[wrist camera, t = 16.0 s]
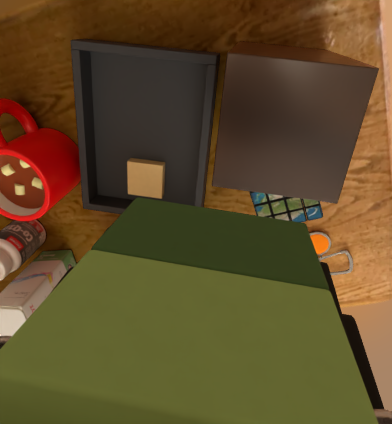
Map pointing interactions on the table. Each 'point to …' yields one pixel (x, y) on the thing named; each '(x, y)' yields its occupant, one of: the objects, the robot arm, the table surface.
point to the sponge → (187, 329)
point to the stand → (290, 120)
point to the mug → (34, 167)
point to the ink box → (32, 288)
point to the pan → (142, 118)
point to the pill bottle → (19, 244)
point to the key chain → (323, 245)
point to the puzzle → (285, 207)
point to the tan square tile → (146, 177)
